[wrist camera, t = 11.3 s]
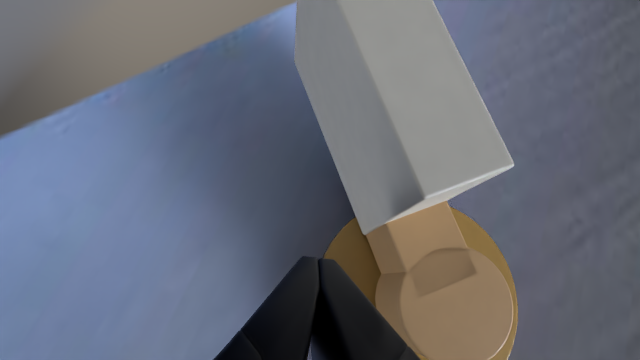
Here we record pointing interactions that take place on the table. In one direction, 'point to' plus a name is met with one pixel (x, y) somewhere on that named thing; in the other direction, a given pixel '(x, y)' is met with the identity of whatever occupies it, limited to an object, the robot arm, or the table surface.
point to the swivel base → (365, 273)
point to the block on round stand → (409, 164)
